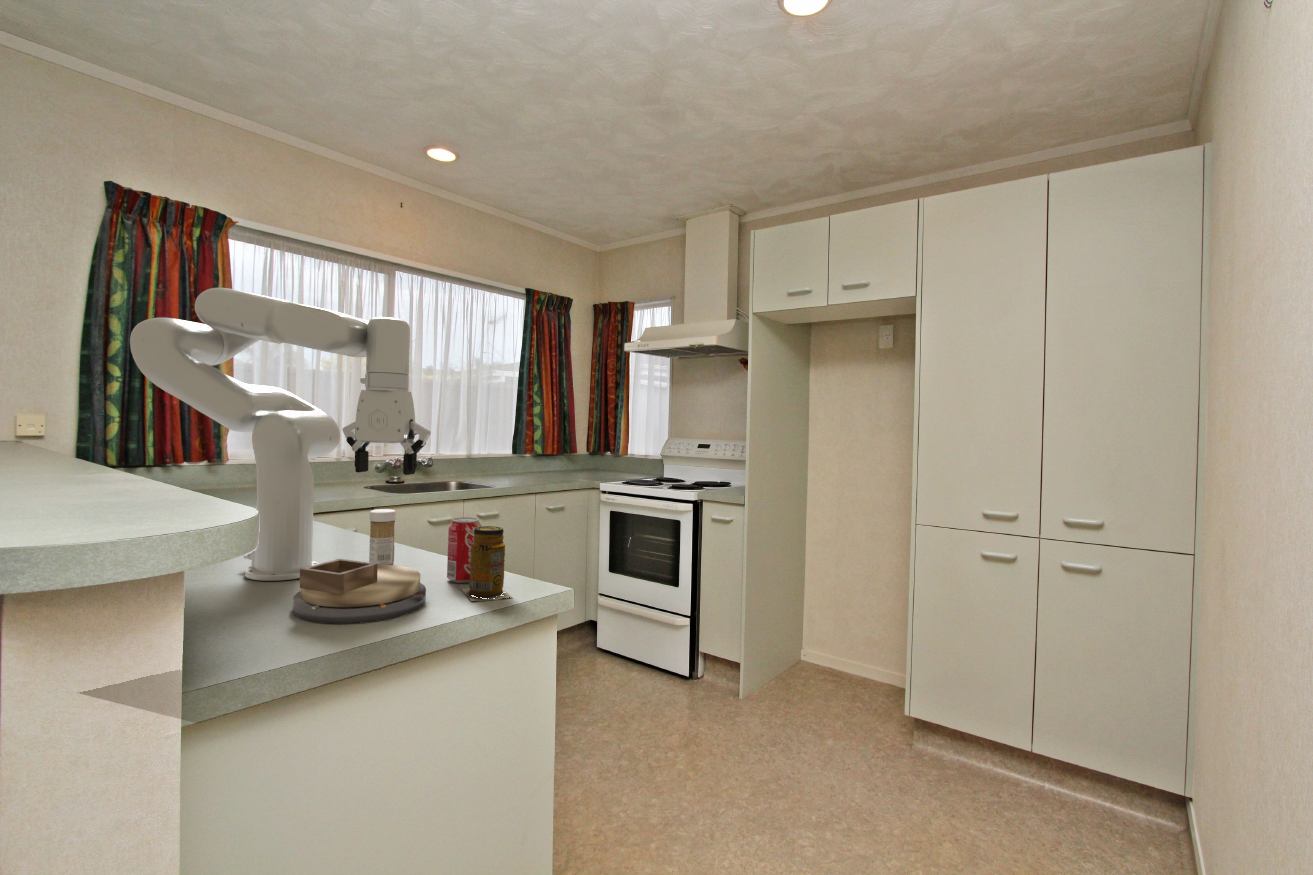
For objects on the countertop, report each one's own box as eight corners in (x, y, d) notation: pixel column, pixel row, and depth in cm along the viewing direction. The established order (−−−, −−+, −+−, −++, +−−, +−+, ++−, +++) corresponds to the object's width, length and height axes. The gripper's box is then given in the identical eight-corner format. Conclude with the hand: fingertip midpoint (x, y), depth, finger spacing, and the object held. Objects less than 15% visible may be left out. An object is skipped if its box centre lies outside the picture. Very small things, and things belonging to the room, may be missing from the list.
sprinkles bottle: (394, 576, 121) (397, 508, 121) (392, 582, 117) (394, 511, 116) (369, 576, 120) (371, 508, 119) (365, 583, 115) (368, 512, 115)
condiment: (500, 586, 117) (503, 524, 117) (512, 598, 110) (515, 532, 110) (461, 589, 114) (463, 525, 114) (470, 602, 107) (473, 534, 106)
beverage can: (484, 577, 123) (487, 517, 123) (472, 585, 117) (474, 522, 117) (455, 575, 124) (457, 515, 123) (441, 583, 118) (443, 520, 117)
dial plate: (262, 613, 96) (262, 598, 96) (358, 582, 115) (359, 570, 115) (366, 631, 90) (366, 616, 90) (449, 595, 110) (450, 583, 110)
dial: (359, 572, 114) (360, 544, 114) (441, 583, 109) (442, 554, 109) (273, 597, 97) (274, 565, 97) (366, 613, 92) (367, 578, 92)
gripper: (332, 381, 114) (330, 472, 115) (420, 383, 112) (418, 476, 113) (357, 383, 122) (355, 469, 122) (439, 386, 120) (437, 473, 120)
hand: (385, 473), depth 118 cm, fingers open, 9 cm apart
